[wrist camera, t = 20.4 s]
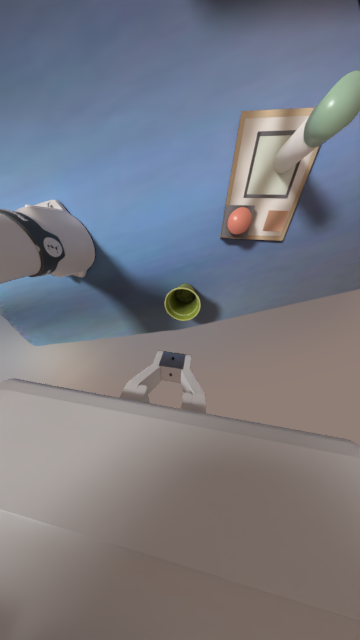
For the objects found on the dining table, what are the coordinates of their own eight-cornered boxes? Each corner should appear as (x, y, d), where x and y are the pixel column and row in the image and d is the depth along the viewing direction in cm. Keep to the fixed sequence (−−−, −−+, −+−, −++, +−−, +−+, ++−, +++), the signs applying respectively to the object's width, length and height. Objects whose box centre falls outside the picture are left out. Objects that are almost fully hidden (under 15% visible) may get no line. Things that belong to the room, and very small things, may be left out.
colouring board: (219, 237, 32) (221, 238, 30) (240, 114, 23) (244, 102, 21) (280, 240, 31) (286, 240, 29) (331, 110, 21) (344, 97, 19)
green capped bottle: (269, 174, 25) (313, 133, 15) (278, 142, 23) (335, 72, 13) (290, 174, 25) (350, 132, 15) (301, 142, 23) (379, 68, 13)
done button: (224, 233, 30) (225, 233, 28) (229, 208, 27) (231, 206, 26) (245, 234, 29) (247, 234, 28) (251, 208, 27) (254, 207, 25)
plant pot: (206, 286, 39) (207, 297, 32) (193, 311, 44) (191, 325, 37) (177, 272, 38) (171, 281, 31) (167, 299, 43) (160, 312, 36)
